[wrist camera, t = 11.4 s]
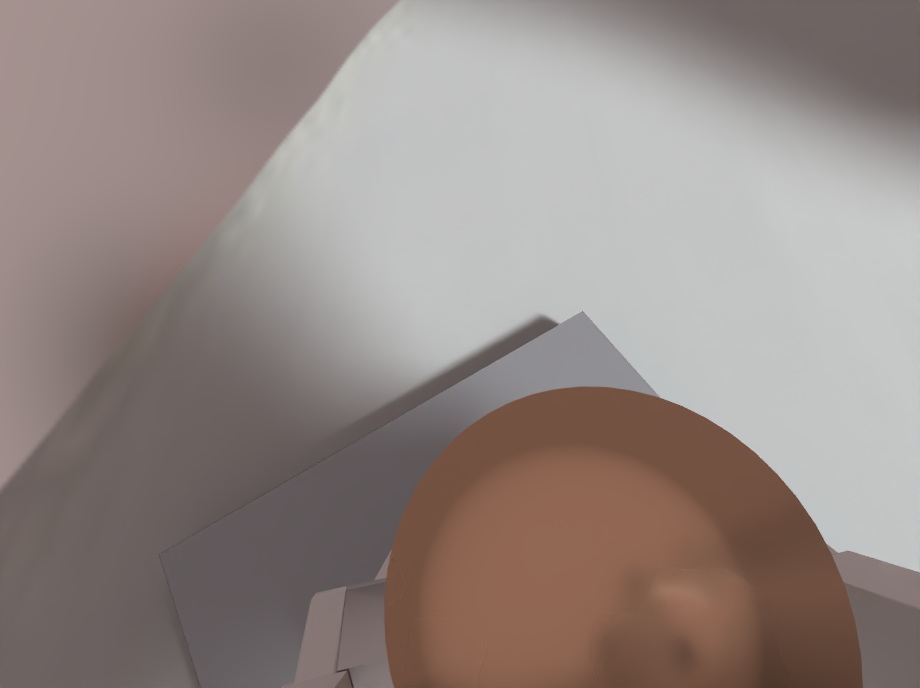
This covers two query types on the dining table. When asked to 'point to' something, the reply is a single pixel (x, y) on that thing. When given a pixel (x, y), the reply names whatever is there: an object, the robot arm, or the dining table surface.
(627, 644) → the copper tube
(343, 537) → the collar plate
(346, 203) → the dining table surface
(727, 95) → the dining table surface
